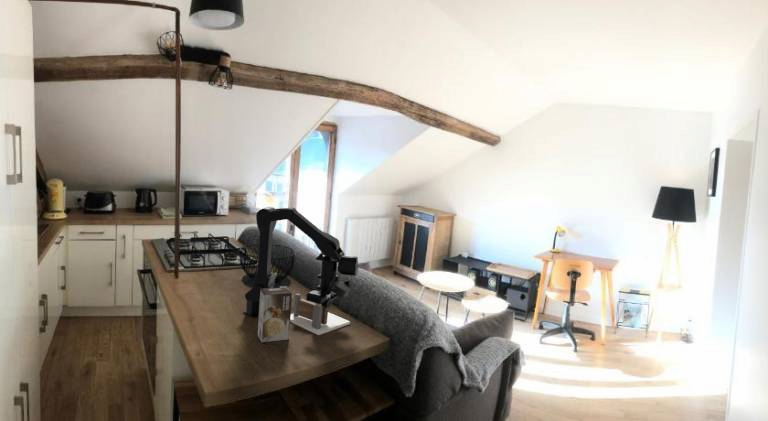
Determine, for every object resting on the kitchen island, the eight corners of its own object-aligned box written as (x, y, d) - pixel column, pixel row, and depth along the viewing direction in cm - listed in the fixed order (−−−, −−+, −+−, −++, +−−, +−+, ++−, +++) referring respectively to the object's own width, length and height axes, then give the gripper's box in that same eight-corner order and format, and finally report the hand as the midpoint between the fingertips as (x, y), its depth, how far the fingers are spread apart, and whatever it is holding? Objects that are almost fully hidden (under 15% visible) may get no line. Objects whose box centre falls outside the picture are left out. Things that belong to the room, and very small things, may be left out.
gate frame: (318, 335, 156) (321, 307, 155) (283, 318, 167) (286, 292, 165) (349, 324, 169) (352, 298, 167) (315, 309, 179) (318, 285, 178)
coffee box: (284, 332, 156) (288, 286, 153) (289, 340, 150) (293, 293, 148) (256, 334, 151) (260, 287, 149) (260, 342, 146) (264, 294, 143)
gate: (323, 325, 161) (325, 308, 160) (297, 315, 167) (299, 299, 166) (326, 323, 163) (328, 307, 162) (301, 314, 169) (302, 298, 168)
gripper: (334, 283, 152) (331, 328, 154) (360, 271, 169) (357, 311, 171) (306, 277, 156) (303, 320, 159) (334, 265, 173) (331, 304, 176)
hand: (325, 314), depth 166 cm, fingers closed
